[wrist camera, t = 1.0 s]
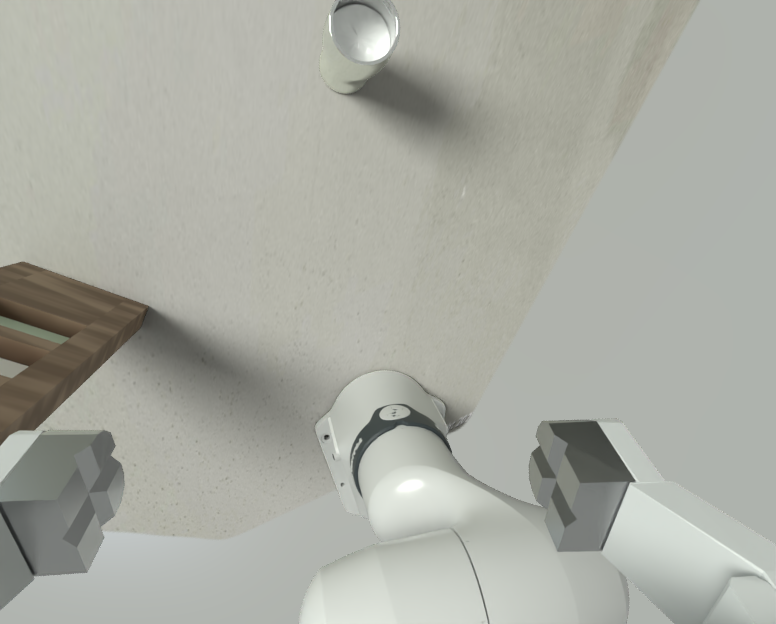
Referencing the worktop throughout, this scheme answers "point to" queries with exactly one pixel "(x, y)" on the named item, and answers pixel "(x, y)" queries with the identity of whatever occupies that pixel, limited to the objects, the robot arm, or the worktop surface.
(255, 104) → the worktop surface
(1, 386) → the key panel
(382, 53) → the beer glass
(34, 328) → the sage key
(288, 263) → the worktop surface
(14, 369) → the cream key
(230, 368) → the worktop surface
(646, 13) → the worktop surface
